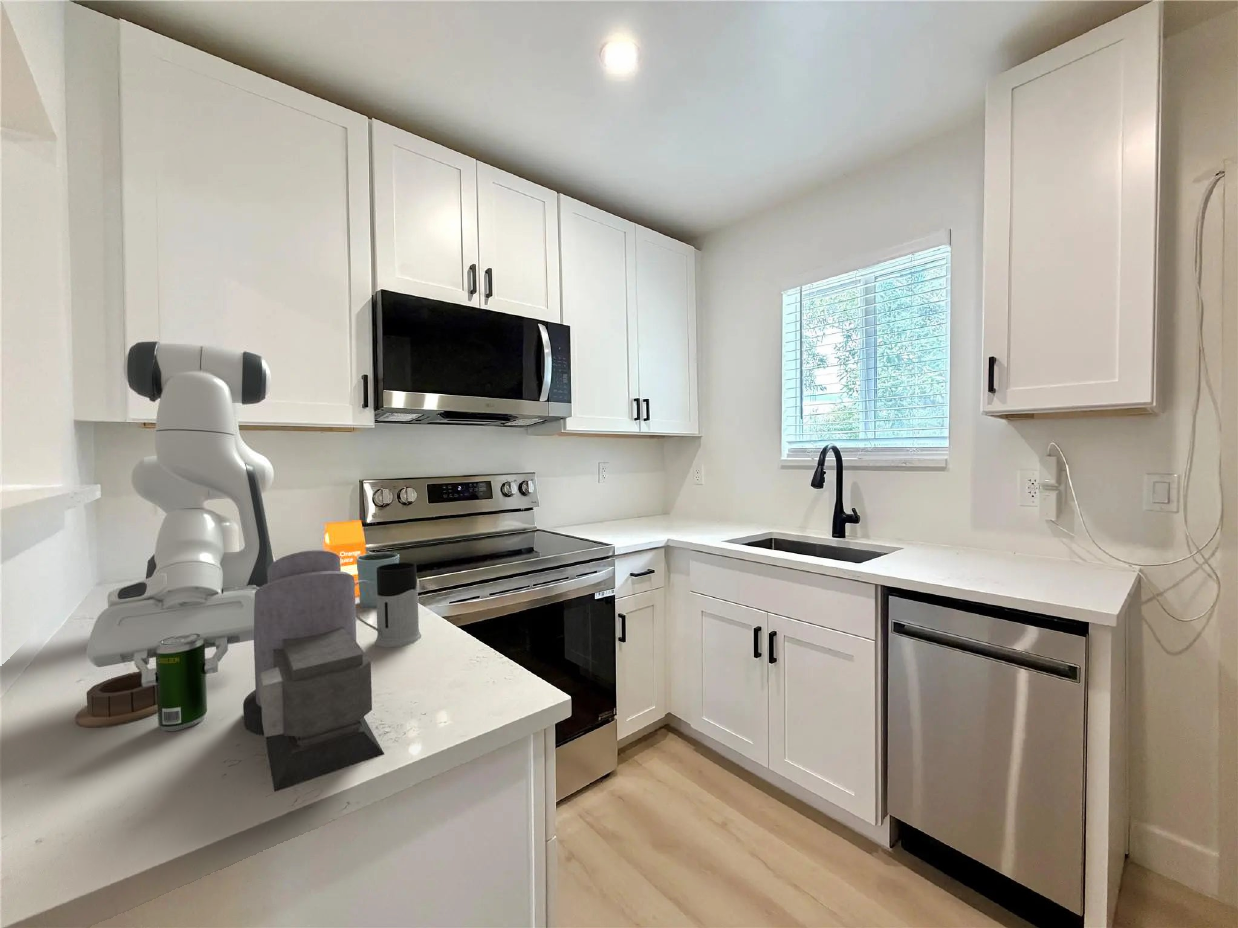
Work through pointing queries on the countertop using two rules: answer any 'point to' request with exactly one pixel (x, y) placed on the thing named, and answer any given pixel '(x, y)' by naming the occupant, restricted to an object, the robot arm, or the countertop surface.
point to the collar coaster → (118, 702)
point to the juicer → (309, 671)
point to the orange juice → (346, 545)
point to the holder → (395, 605)
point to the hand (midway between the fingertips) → (181, 677)
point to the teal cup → (371, 574)
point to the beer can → (181, 681)
